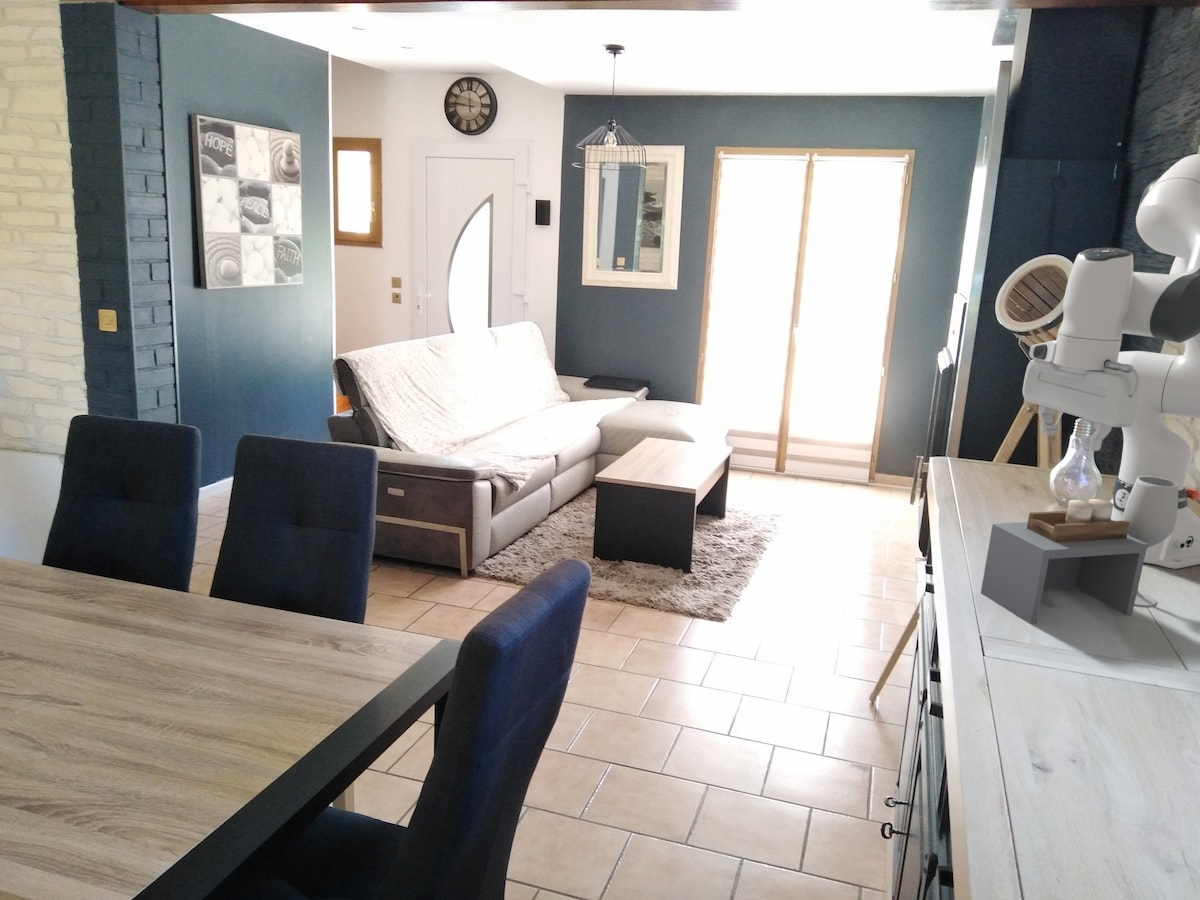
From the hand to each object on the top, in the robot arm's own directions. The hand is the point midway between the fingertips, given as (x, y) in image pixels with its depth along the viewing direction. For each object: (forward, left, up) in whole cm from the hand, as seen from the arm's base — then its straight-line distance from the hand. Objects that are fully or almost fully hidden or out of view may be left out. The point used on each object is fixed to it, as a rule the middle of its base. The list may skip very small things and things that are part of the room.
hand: (1068, 441), depth 143 cm
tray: (-5, 0, -16) cm, 17 cm away
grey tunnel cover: (-4, 0, -28) cm, 28 cm away
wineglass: (-20, 0, -28) cm, 34 cm away
